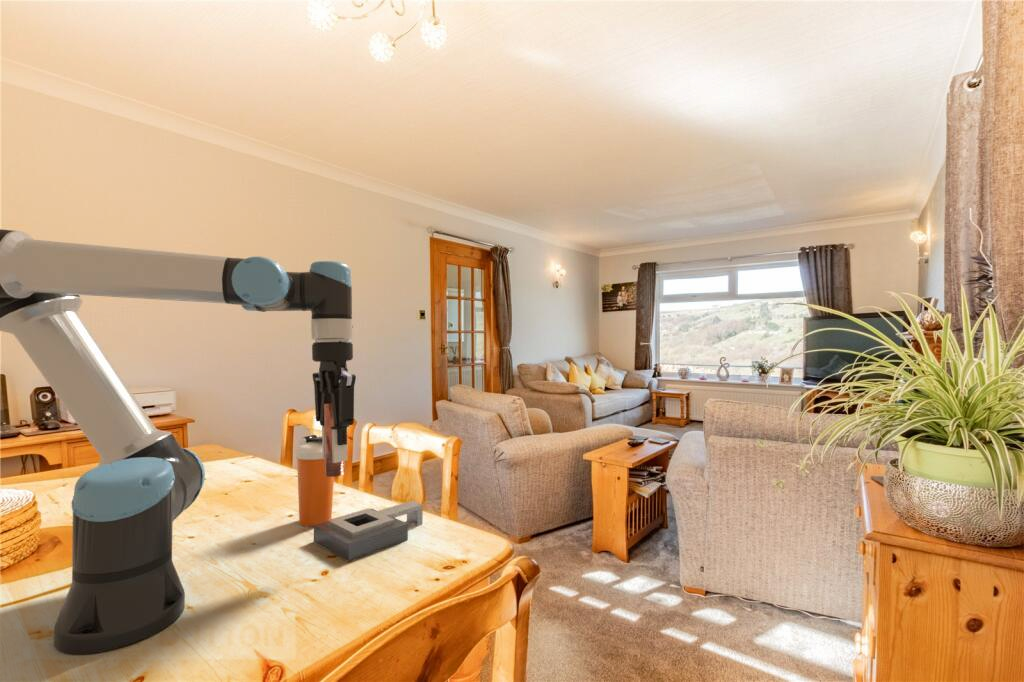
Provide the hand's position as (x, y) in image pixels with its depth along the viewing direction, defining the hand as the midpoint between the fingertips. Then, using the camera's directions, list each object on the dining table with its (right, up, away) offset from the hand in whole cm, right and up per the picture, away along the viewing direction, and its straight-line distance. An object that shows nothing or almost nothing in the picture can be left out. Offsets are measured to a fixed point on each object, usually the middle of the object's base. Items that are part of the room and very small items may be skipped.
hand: (335, 459), depth 94 cm
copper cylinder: (0, -3, 0) cm, 3 cm away
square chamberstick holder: (+3, -19, +8) cm, 21 cm away
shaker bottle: (-12, -20, +19) cm, 30 cm away
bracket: (+6, -20, +12) cm, 24 cm away
